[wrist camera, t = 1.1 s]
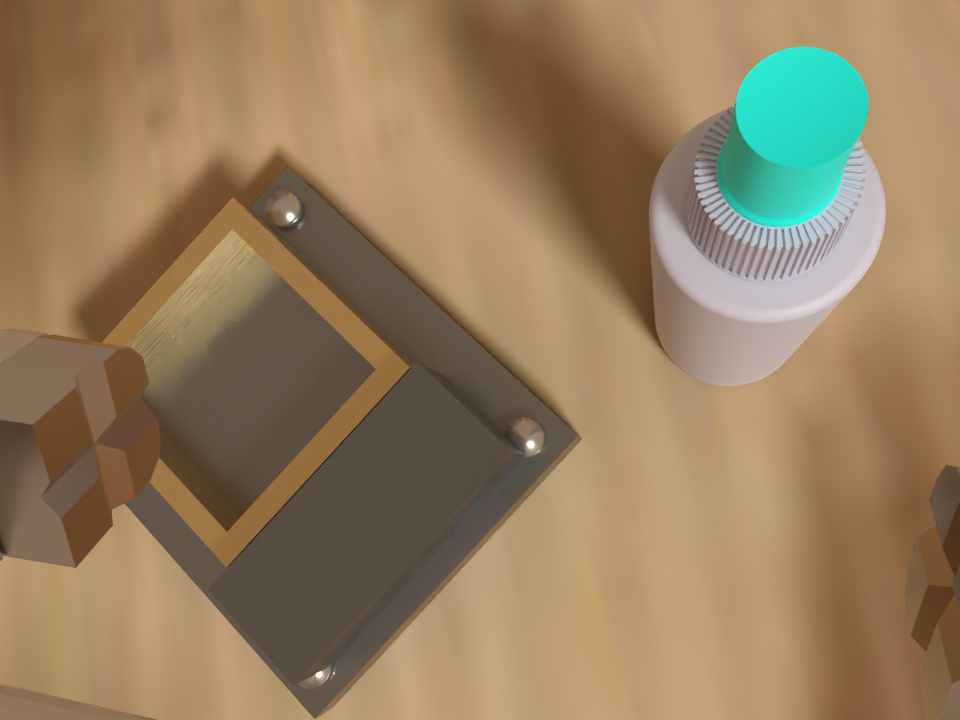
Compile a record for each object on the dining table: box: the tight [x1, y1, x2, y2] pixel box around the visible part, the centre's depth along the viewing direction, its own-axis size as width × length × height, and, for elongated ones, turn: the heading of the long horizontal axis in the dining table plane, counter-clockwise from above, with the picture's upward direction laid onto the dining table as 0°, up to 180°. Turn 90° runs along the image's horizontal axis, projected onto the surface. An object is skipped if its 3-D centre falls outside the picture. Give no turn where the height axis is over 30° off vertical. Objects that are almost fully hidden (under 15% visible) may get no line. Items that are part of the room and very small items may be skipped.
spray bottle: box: [649, 47, 886, 386], centre depth 28 cm, size 6×6×22 cm
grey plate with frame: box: [101, 167, 581, 719], centre depth 39 cm, size 16×18×6 cm
